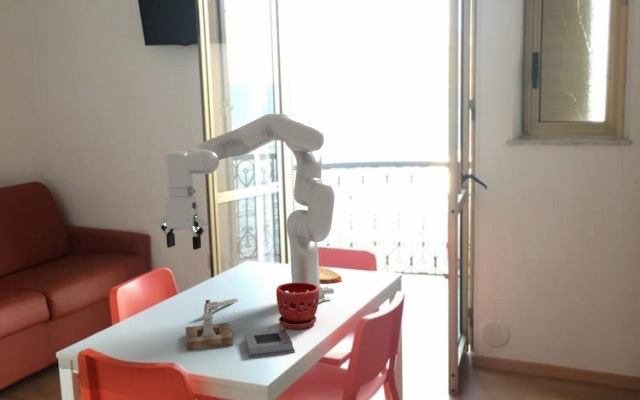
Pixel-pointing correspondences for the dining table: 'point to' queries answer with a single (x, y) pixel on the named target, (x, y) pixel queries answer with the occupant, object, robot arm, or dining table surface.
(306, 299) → the plant pot
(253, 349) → the holder
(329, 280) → the golden brown flat disc
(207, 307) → the caliper
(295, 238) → the robot arm
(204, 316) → the rook chess piece
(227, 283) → the dining table surface
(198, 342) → the socket block
